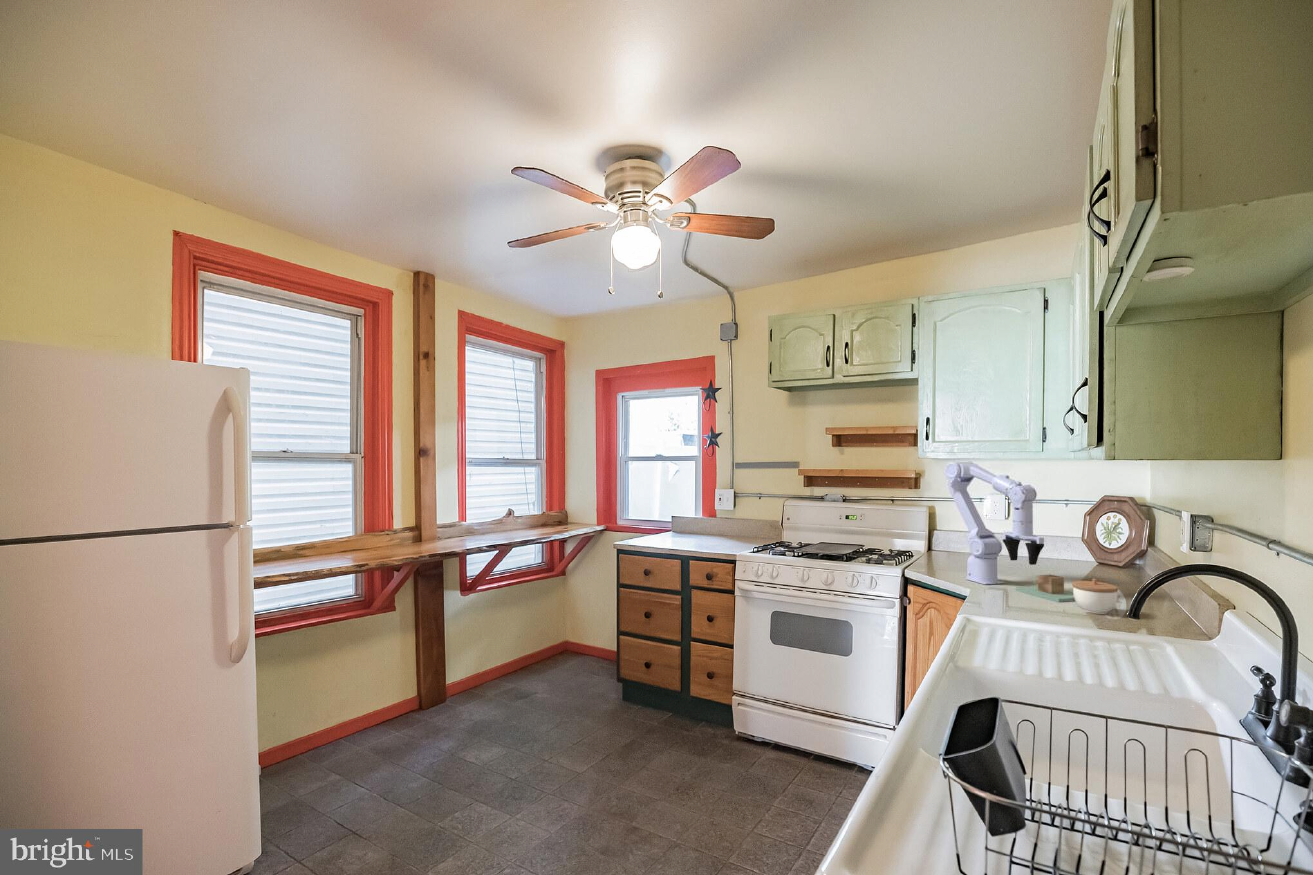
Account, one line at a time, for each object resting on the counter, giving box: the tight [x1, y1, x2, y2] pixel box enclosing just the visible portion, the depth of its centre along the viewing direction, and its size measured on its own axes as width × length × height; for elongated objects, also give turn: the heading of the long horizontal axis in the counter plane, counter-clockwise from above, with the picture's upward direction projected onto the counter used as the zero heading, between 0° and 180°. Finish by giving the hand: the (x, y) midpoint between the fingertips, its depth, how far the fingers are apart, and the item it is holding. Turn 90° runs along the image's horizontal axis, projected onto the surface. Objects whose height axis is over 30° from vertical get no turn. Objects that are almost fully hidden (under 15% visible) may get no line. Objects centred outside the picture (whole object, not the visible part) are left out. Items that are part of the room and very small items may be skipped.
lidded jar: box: [1072, 578, 1119, 615], centre depth 177 cm, size 11×11×9 cm
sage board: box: [1015, 585, 1076, 603], centre depth 197 cm, size 16×12×1 cm
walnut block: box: [1037, 573, 1065, 594], centre depth 197 cm, size 5×5×5 cm
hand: (1023, 562), depth 203 cm, fingers open, 7 cm apart
